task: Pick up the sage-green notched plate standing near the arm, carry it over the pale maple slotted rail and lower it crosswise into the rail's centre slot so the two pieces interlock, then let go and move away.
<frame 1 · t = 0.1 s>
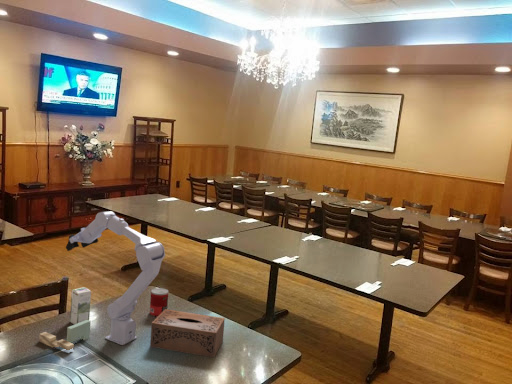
hand: (75, 247, 177), 32 cm above the table, tool tilted 50°, fingers open, 7 cm apart
slotted rail: (56, 346, 158), on the table
syrup box: (79, 322, 179), on the table
cross plate: (78, 341, 163), on the table
canned food: (158, 314, 195), on the table
tissue box cover: (187, 344, 169), on the table
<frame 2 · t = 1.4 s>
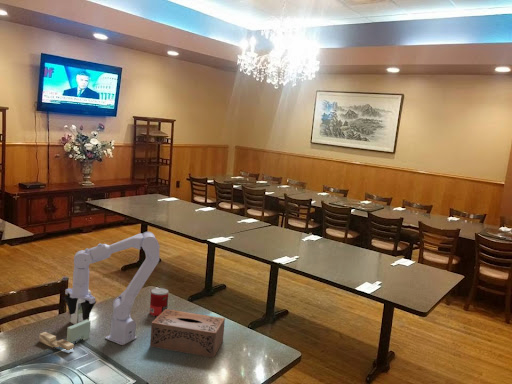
hand: (78, 316, 162), 10 cm above the table, tool pointing down, fingers open, 7 cm apart
nothing on the table moved.
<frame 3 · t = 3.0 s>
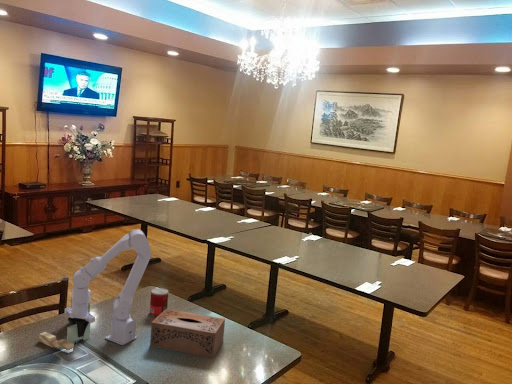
hand: (78, 335, 163), 2 cm above the table, tool pointing down, fingers closed on cross plate, 2 cm apart
cross plate: (78, 341, 163), on the table, touching gripper
everything else where it was.
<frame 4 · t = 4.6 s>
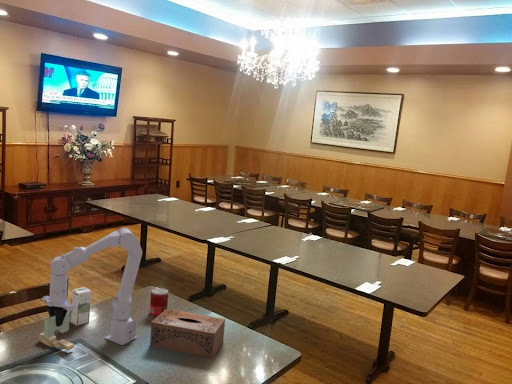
hand: (57, 324, 157), 9 cm above the table, tool pointing down, fingers closed on cross plate
cross plate: (56, 333, 157), point 5 cm above the table, touching gripper
everything else where it was.
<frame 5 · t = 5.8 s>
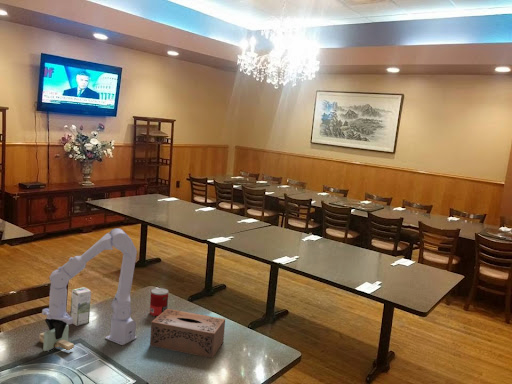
hand: (56, 337, 157), 4 cm above the table, tool pointing down, fingers closed on cross plate, 2 cm apart
cross plate: (55, 346, 158), on the table, touching gripper
everything else where it was.
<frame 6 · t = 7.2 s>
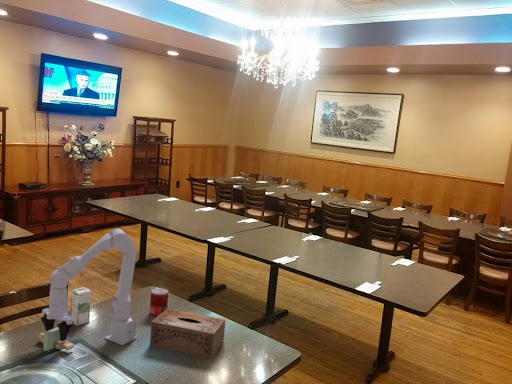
hand: (56, 337, 157), 4 cm above the table, tool pointing down, fingers open, 7 cm apart
cross plate: (55, 346, 158), on the table
everything else where it was.
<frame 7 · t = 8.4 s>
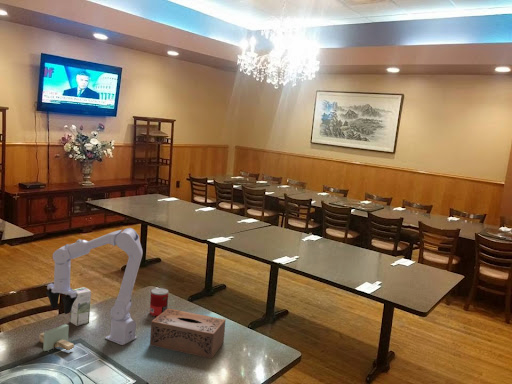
hand: (60, 310, 166), 10 cm above the table, tool pointing down, fingers open, 7 cm apart
nothing on the table moved.
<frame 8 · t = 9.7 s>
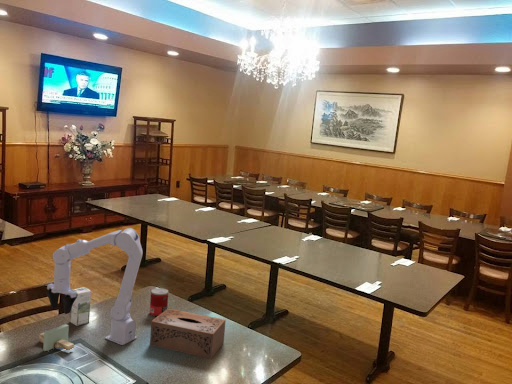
hand: (60, 310, 166), 10 cm above the table, tool pointing down, fingers open, 7 cm apart
nothing on the table moved.
at the end: cross plate 0.1 cm off-centre on the slotted rail, point 0.0 cm above the slotted rail's base; cross plate tilted 0°; the gripper is holding nothing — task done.
